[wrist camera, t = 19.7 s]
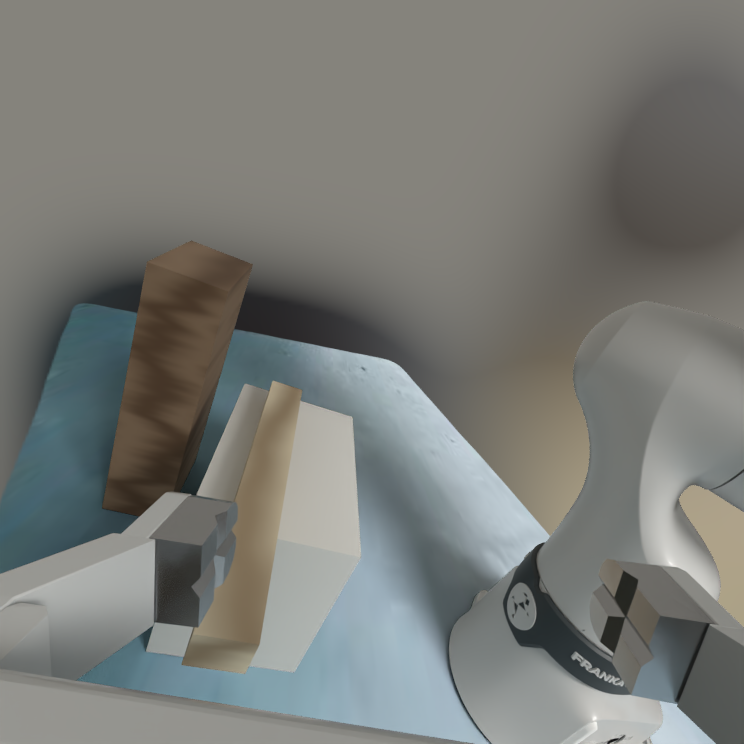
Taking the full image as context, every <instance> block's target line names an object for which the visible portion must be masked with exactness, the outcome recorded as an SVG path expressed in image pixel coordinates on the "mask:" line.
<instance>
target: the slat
mask: <svg viewBox="0 0 744 744" xmlns="http://www.w3.org/2000/svg"><path fill="white" fill-rule="evenodd" d="M301 394H302V390H301V389H297V388H294V387H291V386H288V385H285V384H282V383H279V382H276V381H273V382H272V384H271V387H270V390H269V393H268V396H267V398H266V401H265V404H264V408H263V411H262V414H261V417H260V420H259V423H258V426H257V429H256V433H255V436H254V439H253V442H252V445H251V448H250V451H249V455H248V458H247V461H246V464H245V467H244V470H243V473H242V476H241V480H240V483H239V486H238V489H237V492H236V495H235V498H234V502H236V503H237V505H238V520H237V522H236V523H235V525H234V527H233V528H232V532H233V533H234V535H235V536H236V548H235V554H234V559H233V562H232V565H231V568H230V571H229V573H228V575H227V577H226V579H225V581H224V583H223V584H222V585H220V586H218V587H217V588H215V589H214V601H213V603H212V604H211V606H210V608H209V610H208V611H207V613H206V615H205V617H204V618H203V620H202V622H201V624H200V626H199V627H198V628H196V627H193V630H192V633H191V636H190V639H189V643H188V646H187V649H186V652H185V655H184V658H183V661H182V664H181V665H185V666H192V667H199V668H206V669H213V670H221V671H228V672H235V673H242V674H245V673H246V671H247V669H248V667H249V665H250V663H251V661H252V659H253V657H254V655H255V653H256V651H257V649H258V647H259V645H260V639H261V633H262V627H263V621H264V615H265V609H266V603H267V597H268V591H269V585H270V579H271V573H272V567H273V561H274V555H275V550H276V544H277V538H278V532H279V526H280V520H281V514H282V508H283V502H284V496H285V490H286V484H287V478H288V472H289V466H290V460H291V454H292V448H293V442H294V436H295V430H296V424H297V418H298V412H299V406H300V400H301Z"/></svg>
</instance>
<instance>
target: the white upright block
mask: <svg viewBox="0 0 744 744" xmlns="http://www.w3.org/2000/svg"><path fill="white" fill-rule="evenodd" d="M268 393H269V391H267V390H264V389H261V388H258V387H255V386H252V385H248V384H245V385H244V387H243V389H242V391H241V394H240V396H239V398H238V401H237V403H236V405H235V407H234V410H233V412H232V414H231V417H230V419H229V421H228V424H227V426H226V428H225V430H224V433H223V435H222V437H221V440H220V442H219V444H218V447H217V449H216V451H215V453H214V456H213V458H212V460H211V463H210V465H209V467H208V469H207V472H206V474H205V476H204V479H203V481H202V483H201V486H200V488H199V490H198V492H197V496H203V497H209V498H215V499H220V500H226V501H232V502H234V498H235V495H236V492H237V489H238V486H239V483H240V480H241V476H242V473H243V470H244V467H245V464H246V461H247V458H248V455H249V451H250V448H251V445H252V442H253V439H254V436H255V433H256V429H257V426H258V423H259V420H260V417H261V414H262V411H263V408H264V404H265V401H266V398H267V396H268ZM360 559H361V548H360V531H359V515H358V498H357V482H356V465H355V449H354V432H353V417H350V416H347V415H344V414H341V413H338V412H335V411H331V410H328V409H325V408H322V407H319V406H315V405H312V404H309V403H306V402H303V401H300V406H299V412H298V418H297V424H296V430H295V436H294V442H293V448H292V454H291V460H290V466H289V472H288V478H287V484H286V490H285V496H284V502H283V508H282V514H281V520H280V526H279V532H278V538H277V544H276V550H275V555H274V561H273V567H272V573H271V579H270V585H269V591H268V597H267V603H266V609H265V615H264V621H263V627H262V633H261V639H260V645H259V647H258V649H257V651H256V653H255V655H254V657H253V659H252V661H251V663H250V665H249V666H251V667H258V668H265V669H272V670H279V671H286V672H293V673H294V672H295V670H296V669H297V667H298V665H299V663H300V662H301V660H302V658H303V657H304V655H305V653H306V651H307V650H308V648H309V646H310V645H311V643H312V641H313V639H314V638H315V636H316V634H317V632H318V631H319V629H320V627H321V626H322V624H323V622H324V620H325V619H326V617H327V615H328V614H329V612H330V610H331V608H332V607H333V605H334V603H335V602H336V600H337V598H338V596H339V595H340V593H341V591H342V590H343V588H344V586H345V584H346V583H347V581H348V579H349V578H350V576H351V574H352V572H353V571H354V569H355V567H356V565H357V564H358V562H359V560H360ZM192 630H193V627H188V626H180V625H172V624H164V623H156V622H155V623H154V626H153V629H152V633H151V636H150V639H149V643H148V646H147V649H146V652H152V653H159V654H166V655H173V656H180V657H184V655H185V652H186V649H187V646H188V643H189V639H190V636H191V633H192Z"/></svg>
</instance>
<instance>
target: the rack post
mask: <svg viewBox="0 0 744 744" xmlns="http://www.w3.org/2000/svg"><path fill="white" fill-rule="evenodd" d="M251 269H252V264H250V263H248V262H245V261H242V260H240V259H237V258H235V257H232V256H229V255H227V254H224V253H222V252H219V251H216V250H214V249H212V248H209V247H206V246H203V245H201V244H199V243H196V242H193V241H190V242H188V243H185V244H183V245H181V246H179V247H177V248H175V249H173V250H171V251H169V252H167V253H164V254H162V255H160V256H158V257H156V258H154V259H152V260H150V261H148V262H147V266H146V271H145V276H144V281H143V287H142V293H141V298H140V303H139V309H138V314H137V320H136V325H135V331H134V336H133V342H132V347H131V353H130V358H129V364H128V369H127V375H126V380H125V386H124V391H123V397H122V402H121V407H120V413H119V418H118V424H117V429H116V435H115V440H114V446H113V451H112V457H111V462H110V468H109V473H108V479H107V484H106V490H105V495H104V501H103V506H102V508H103V509H108V510H112V511H117V512H122V513H126V514H131V515H135V516H141V515H142V514H143V513H144V512H145V511H146V510H147V509H148V508H149V507H150V506H152V505H153V504H154V503H155V502H156V501H157V500H158V499H159V498H160V497H161V496H162V495H163V494H165V493H166V492H178V493H180V490H181V488H182V486H183V484H184V482H185V480H186V478H187V476H188V474H189V472H190V470H191V468H192V466H193V464H194V462H195V460H196V457H197V454H198V450H199V447H200V443H201V440H202V436H203V433H204V430H205V426H206V423H207V419H208V416H209V413H210V409H211V406H212V402H213V399H214V395H215V392H216V389H217V385H218V382H219V378H220V375H221V372H222V368H223V365H224V361H225V358H226V354H227V351H228V348H229V344H230V341H231V337H232V334H233V331H234V327H235V324H236V320H237V317H238V313H239V310H240V307H241V303H242V300H243V296H244V293H245V290H246V286H247V283H248V279H249V276H250V272H251Z"/></svg>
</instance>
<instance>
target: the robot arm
mask: <svg viewBox="0 0 744 744" xmlns="http://www.w3.org/2000/svg"><path fill="white" fill-rule="evenodd" d="M573 381H574V388H575V392H576V396H577V398H578V400H579V402H580V405H581V407H582V410H583V413H584V416H585V419H586V423H587V427H588V433H589V442H590V458H589V467H588V473H587V477H586V480H585V483H584V486H583V488H582V490H581V492H580V494H579V496H578V498H577V500H576V501H575V503H574V504H573V506H572V507H571V509H570V511H569V512H568V513H567V515H566V516H565V518H564V519H563V521H562V522H561V523H560V525H559V526H558V528H557V529H556V530H555V531H554V533H553V534H552V535H551V536H550V538H549V539H548V540H547V541H546V542H545V543H541V544H539V545H537V546H536V547H535V548H534V549H533V550H532V551H531V552H529V553H528V554H527V555H526V556H525V557H524V560H523V561H522V563H521V564H520V565H519V566H516V567H514V568H513V569H512V570H511V571H510V572H509V573H508V574H507V575H506V576H504V577H503V578H502V579H501V580H500V581H499V582H498V583H497V584H496V585H495V586H494V587H493V588H492V589H491V590H489V591H487V590H482V591H480V592H479V593H478V594H477V595H476V596H475V598H474V601H473V604H472V608H471V609H470V610H469V611H468V612H467V613H465V614H464V615H463V616H461V617H460V618H459V619H458V620H457V622H456V623H455V625H454V627H453V629H452V632H451V635H450V641H449V658H450V665H451V670H452V674H453V677H454V681H455V684H456V687H457V689H458V692H459V694H460V696H461V699H462V701H463V703H464V705H465V707H466V708H467V710H468V712H469V714H470V715H471V717H472V718H473V720H474V722H475V723H476V724H477V726H478V727H479V729H480V730H481V731H482V733H483V734H484V735H485V736H486V737H487V739H488V740H489V741H490V742H491V743H492V744H652V741H651V739H650V736H651V735H653V734H654V733H655V732H656V731H657V730H658V729H659V728H660V727H661V726H662V723H663V714H662V709H661V705H660V702H659V701H664V702H669V703H675V704H678V705H677V707H678V708H679V709H680V710H681V711H682V712H683V713H684V714H686V715H687V716H688V717H689V718H690V719H691V720H692V721H693V722H694V723H695V724H696V725H697V726H698V727H699V728H700V729H701V730H702V731H703V732H704V733H705V734H706V735H708V736H709V737H710V738H711V739H712V740H713V741H714V742H715V743H716V744H744V627H743V626H742V625H741V624H740V623H739V622H738V621H737V620H735V619H734V618H733V617H732V616H731V615H730V614H729V613H728V612H727V611H726V610H725V609H724V608H723V607H722V606H721V605H720V604H719V603H718V602H717V601H718V599H719V595H720V587H721V586H720V577H719V572H718V569H717V566H716V563H715V561H714V559H713V557H712V555H711V553H710V551H709V550H708V548H707V546H706V544H705V543H704V541H703V539H702V538H701V536H700V535H699V534H698V532H697V531H696V529H695V528H694V526H693V525H692V523H691V522H690V521H689V519H688V517H687V516H686V514H685V513H684V511H683V509H682V507H681V505H680V502H679V497H680V496H681V494H682V493H683V491H684V490H685V489H687V488H688V487H689V486H691V485H697V486H700V487H702V488H704V489H708V490H710V491H711V492H713V493H714V494H716V495H718V496H719V497H721V498H722V499H724V500H725V501H727V502H729V503H730V504H732V505H733V506H735V507H736V508H738V509H740V510H741V511H743V512H744V330H743V329H741V328H739V327H736V326H734V325H731V324H729V323H727V322H725V321H722V320H720V319H718V318H715V317H712V316H709V315H704V314H701V313H697V312H693V311H689V310H685V309H682V308H677V307H673V306H668V305H663V304H659V303H655V302H650V301H644V302H640V303H636V304H632V305H629V306H626V307H624V308H622V309H620V310H618V311H616V312H614V313H612V314H610V315H609V316H607V317H606V318H605V319H603V320H602V321H601V322H599V323H598V324H597V325H596V326H595V327H594V328H593V329H592V330H591V331H590V332H589V334H588V335H587V336H586V338H585V339H584V341H583V342H582V344H581V346H580V348H579V350H578V353H577V355H576V358H575V362H574V369H573ZM237 520H238V505H237V503H236V502H232V501H226V500H220V499H215V498H209V497H203V496H197V495H191V494H186V493H178V492H166V493H165V494H163V495H162V496H161V497H160V498H159V499H158V500H157V501H156V502H155V503H154V504H153V505H152V506H150V507H149V508H148V509H147V510H146V511H145V512H144V513H143V514H142V515H141V516H140V517H139V518H137V519H136V520H135V521H134V522H133V523H132V524H131V525H130V526H129V527H128V528H127V529H126V530H125V531H123V532H122V533H121V534H117V533H112V534H109V535H106V536H104V537H101V538H98V539H95V540H93V541H90V542H87V543H84V544H82V545H79V546H76V547H73V548H71V549H68V550H65V551H62V552H60V553H57V554H54V555H51V556H48V557H46V558H43V559H40V560H37V561H35V562H32V563H29V564H26V565H24V566H21V567H18V568H15V569H13V570H10V571H7V572H4V573H2V574H0V744H473V743H467V742H460V741H454V740H448V739H441V738H435V737H429V736H422V735H416V734H410V733H403V732H397V731H391V730H384V729H378V728H372V727H365V726H359V725H353V724H346V723H340V722H334V721H327V720H321V719H315V718H309V717H302V716H296V715H290V714H283V713H277V712H271V711H264V710H258V709H252V708H246V707H239V706H233V705H227V704H220V703H214V702H208V701H201V700H195V699H189V698H183V697H176V696H170V695H164V694H157V693H151V692H145V691H139V690H132V689H126V688H120V687H113V686H107V685H101V684H94V683H88V682H82V681H76V680H77V679H79V678H80V677H81V676H83V675H84V674H86V673H87V672H88V671H90V670H91V669H93V668H94V667H95V666H97V665H98V664H100V663H101V662H102V661H104V660H105V659H107V658H108V657H109V656H111V655H112V654H114V653H115V652H117V651H118V650H119V649H121V648H122V647H124V646H125V645H126V644H128V643H129V642H131V641H132V640H133V639H135V638H136V637H138V636H139V635H140V634H142V633H143V632H145V631H146V630H147V629H149V628H150V627H152V626H153V625H154V622H156V623H164V624H172V625H180V626H188V627H196V628H198V627H199V626H200V624H201V622H202V620H203V618H204V617H205V615H206V613H207V611H208V610H209V608H210V606H211V604H212V603H213V601H214V589H215V588H217V587H218V586H220V585H222V584H223V583H224V581H225V579H226V577H227V575H228V573H229V571H230V568H231V565H232V562H233V559H234V554H235V548H236V536H235V535H234V533H233V532H232V528H233V527H234V525H235V523H236V522H237Z"/></svg>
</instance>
